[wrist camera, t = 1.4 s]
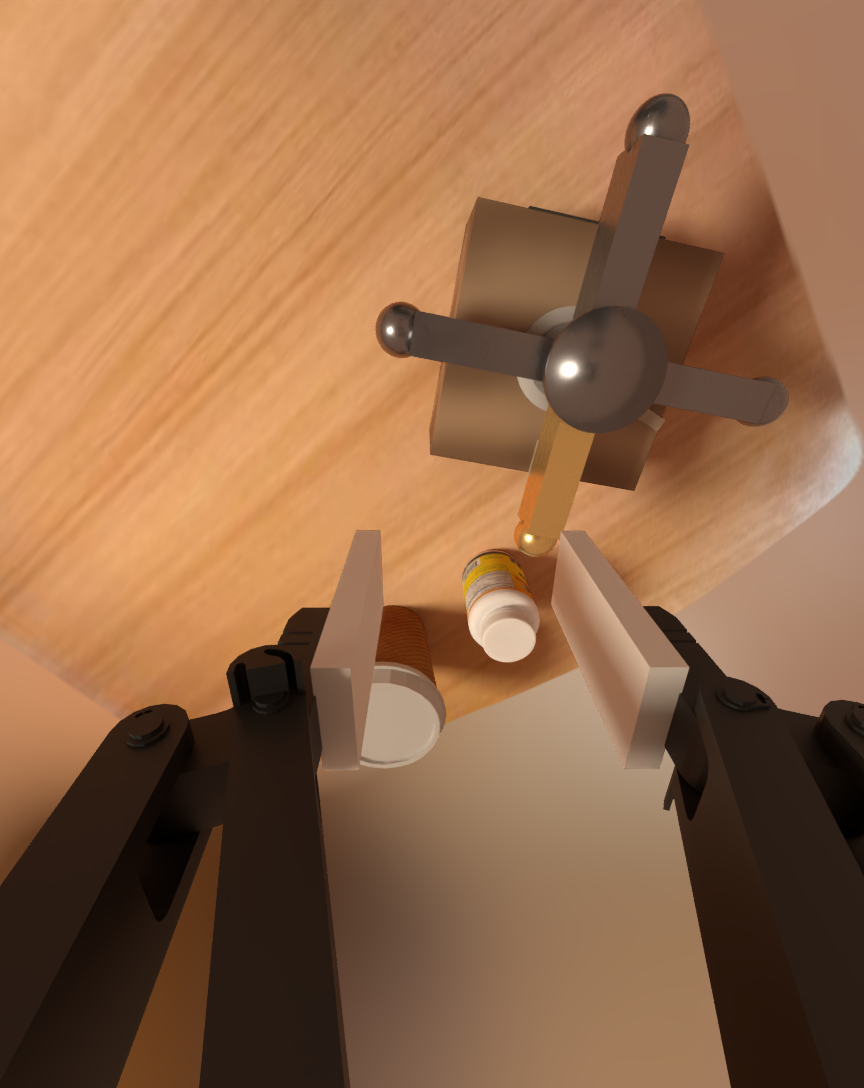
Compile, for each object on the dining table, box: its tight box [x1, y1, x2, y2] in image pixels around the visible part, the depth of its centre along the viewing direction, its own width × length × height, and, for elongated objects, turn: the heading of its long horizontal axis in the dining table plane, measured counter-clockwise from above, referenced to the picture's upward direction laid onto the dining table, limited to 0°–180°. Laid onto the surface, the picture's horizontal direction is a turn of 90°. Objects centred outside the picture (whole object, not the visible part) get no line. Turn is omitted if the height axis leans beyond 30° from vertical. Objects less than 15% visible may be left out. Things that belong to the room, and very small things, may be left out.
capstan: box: [376, 94, 789, 557], centre depth 25 cm, size 22×22×7 cm
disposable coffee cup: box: [360, 606, 446, 768], centre depth 41 cm, size 10×10×12 cm
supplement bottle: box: [462, 550, 540, 662], centre depth 39 cm, size 6×6×10 cm
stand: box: [429, 197, 725, 491], centre depth 32 cm, size 16×14×8 cm
